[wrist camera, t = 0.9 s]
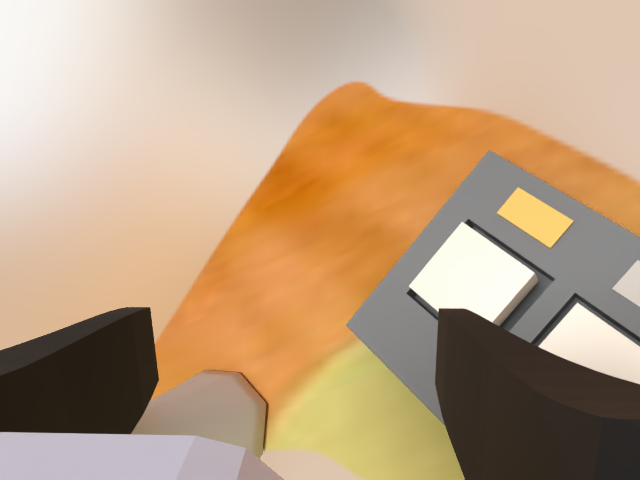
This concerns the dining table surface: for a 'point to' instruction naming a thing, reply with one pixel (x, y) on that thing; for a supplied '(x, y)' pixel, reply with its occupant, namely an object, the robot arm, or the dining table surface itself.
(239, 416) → the flask
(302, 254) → the dining table surface
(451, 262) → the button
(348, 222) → the dining table surface
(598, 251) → the button board
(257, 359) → the dining table surface
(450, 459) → the dining table surface
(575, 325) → the button middle
